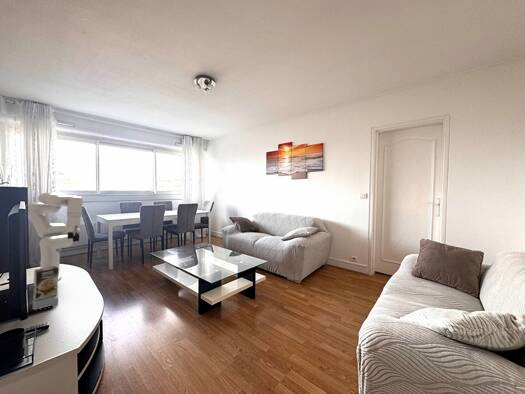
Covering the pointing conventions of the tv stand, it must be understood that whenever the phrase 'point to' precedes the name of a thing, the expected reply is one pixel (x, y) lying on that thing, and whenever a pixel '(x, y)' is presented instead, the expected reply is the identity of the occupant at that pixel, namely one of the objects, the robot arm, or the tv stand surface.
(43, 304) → the base block
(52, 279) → the coffee box
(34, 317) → the tv stand surface
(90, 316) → the tv stand surface
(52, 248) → the robot arm
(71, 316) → the tv stand surface
